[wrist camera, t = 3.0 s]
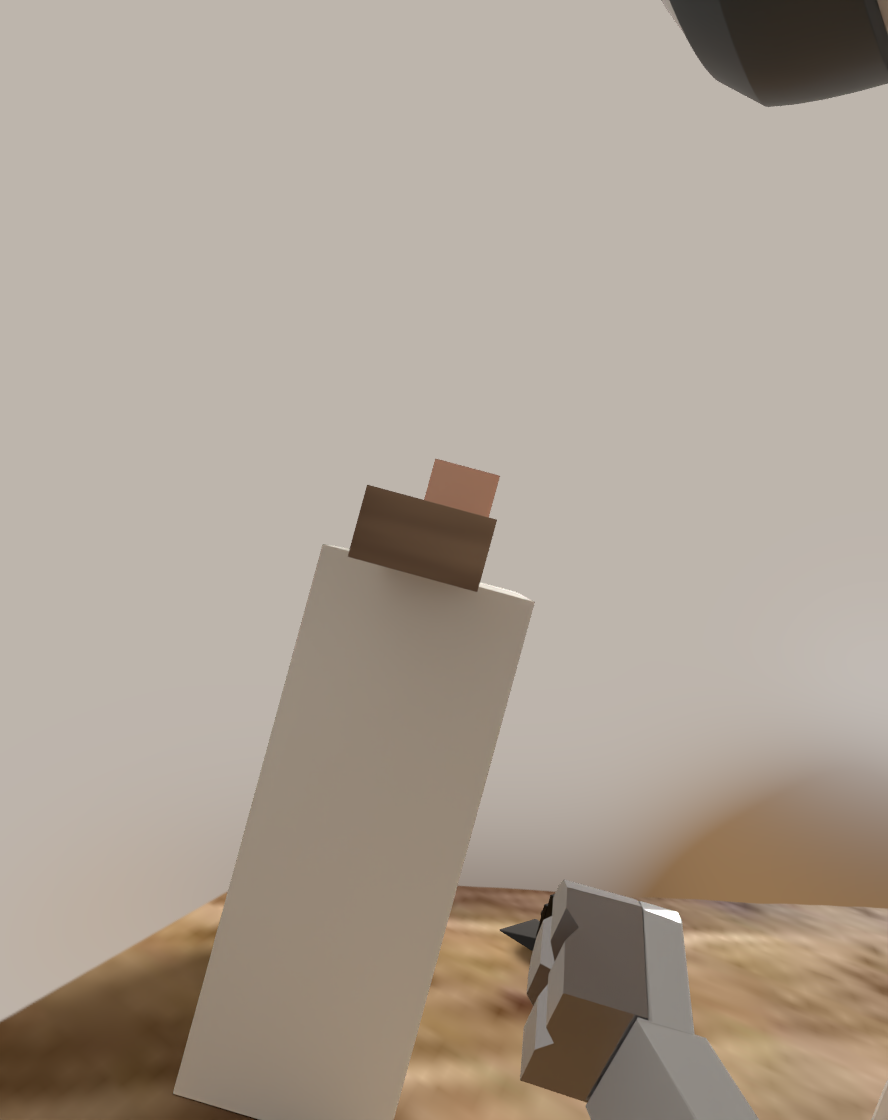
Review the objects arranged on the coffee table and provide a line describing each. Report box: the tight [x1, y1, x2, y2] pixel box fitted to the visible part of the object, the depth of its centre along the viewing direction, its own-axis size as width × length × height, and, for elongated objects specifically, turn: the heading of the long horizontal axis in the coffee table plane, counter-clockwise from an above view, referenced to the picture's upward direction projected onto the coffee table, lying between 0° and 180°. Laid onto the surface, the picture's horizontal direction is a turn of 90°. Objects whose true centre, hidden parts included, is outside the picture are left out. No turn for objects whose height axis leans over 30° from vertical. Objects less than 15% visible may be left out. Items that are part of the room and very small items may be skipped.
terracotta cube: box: [424, 459, 500, 518], centre depth 52 cm, size 4×4×4 cm
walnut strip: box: [348, 485, 497, 592], centre depth 41 cm, size 26×4×2 cm, turn 177°
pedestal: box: [173, 544, 535, 1120], centre depth 46 cm, size 16×10×26 cm, turn 177°
